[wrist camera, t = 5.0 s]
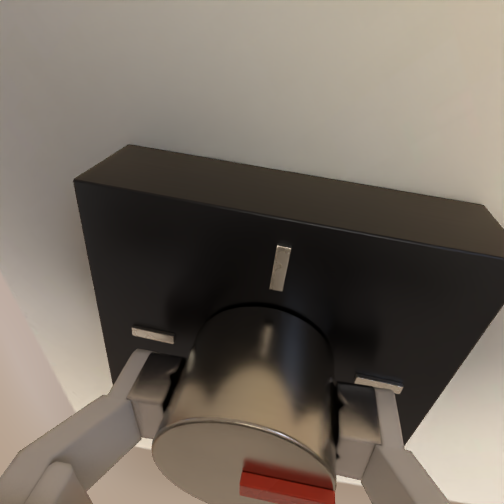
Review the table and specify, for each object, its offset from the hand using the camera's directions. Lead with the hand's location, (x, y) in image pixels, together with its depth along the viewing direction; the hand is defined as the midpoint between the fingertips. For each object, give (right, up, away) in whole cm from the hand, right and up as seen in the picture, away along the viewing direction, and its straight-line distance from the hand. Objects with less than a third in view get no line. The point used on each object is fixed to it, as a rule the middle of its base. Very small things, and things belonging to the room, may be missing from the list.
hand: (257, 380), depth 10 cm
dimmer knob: (0, 0, +1) cm, 1 cm away
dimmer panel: (+1, +2, +3) cm, 4 cm away
